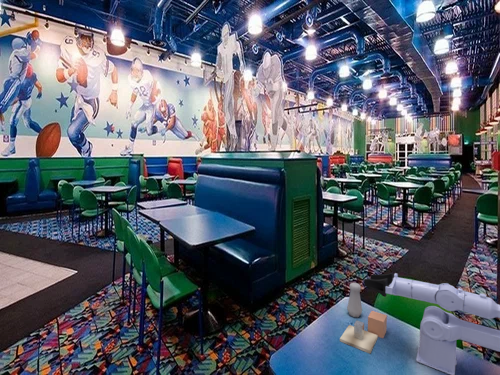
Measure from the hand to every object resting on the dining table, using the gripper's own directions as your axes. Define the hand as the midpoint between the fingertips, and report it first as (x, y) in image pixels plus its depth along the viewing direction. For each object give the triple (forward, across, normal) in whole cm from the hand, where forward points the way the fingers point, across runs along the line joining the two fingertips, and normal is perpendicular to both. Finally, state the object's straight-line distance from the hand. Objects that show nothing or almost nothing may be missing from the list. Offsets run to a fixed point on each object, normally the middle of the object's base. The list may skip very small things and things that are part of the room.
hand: (367, 279), depth 92 cm
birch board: (+2, +2, +21) cm, 21 cm away
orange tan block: (-2, -6, +20) cm, 21 cm away
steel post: (+2, +2, +21) cm, 21 cm away
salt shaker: (+9, -13, +19) cm, 24 cm away
